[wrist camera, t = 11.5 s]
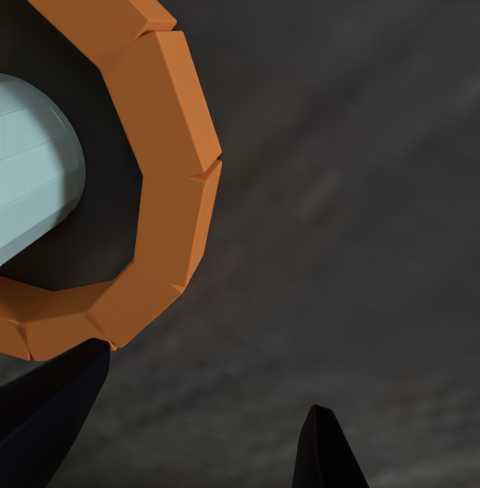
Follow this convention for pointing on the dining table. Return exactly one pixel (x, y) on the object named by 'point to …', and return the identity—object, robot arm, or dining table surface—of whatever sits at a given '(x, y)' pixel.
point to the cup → (35, 165)
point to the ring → (153, 186)
